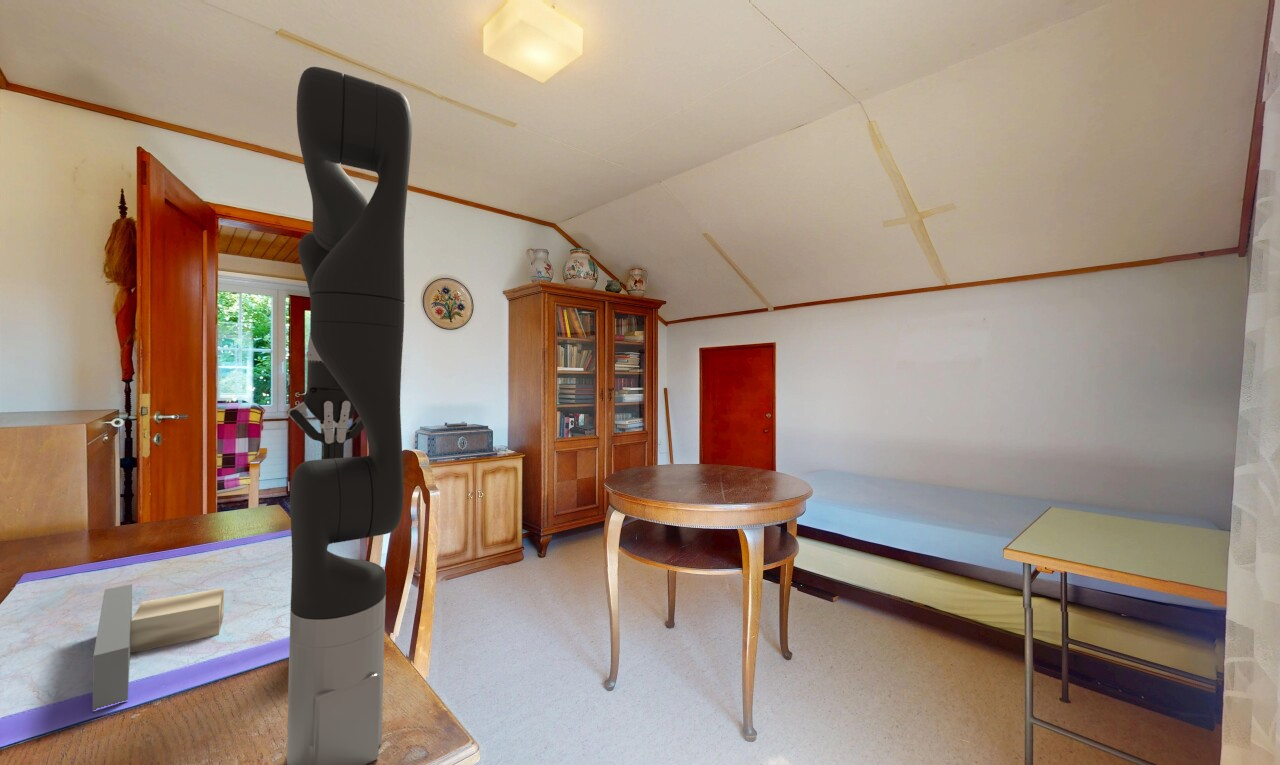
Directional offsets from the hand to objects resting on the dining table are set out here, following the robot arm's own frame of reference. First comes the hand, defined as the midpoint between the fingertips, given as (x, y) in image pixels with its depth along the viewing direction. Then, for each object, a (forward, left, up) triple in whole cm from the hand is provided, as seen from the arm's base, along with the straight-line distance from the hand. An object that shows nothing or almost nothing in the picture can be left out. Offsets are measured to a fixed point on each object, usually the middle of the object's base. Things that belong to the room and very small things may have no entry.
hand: (332, 465), depth 82 cm
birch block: (+13, +18, -27) cm, 35 cm away
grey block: (+8, +24, -27) cm, 37 cm away
